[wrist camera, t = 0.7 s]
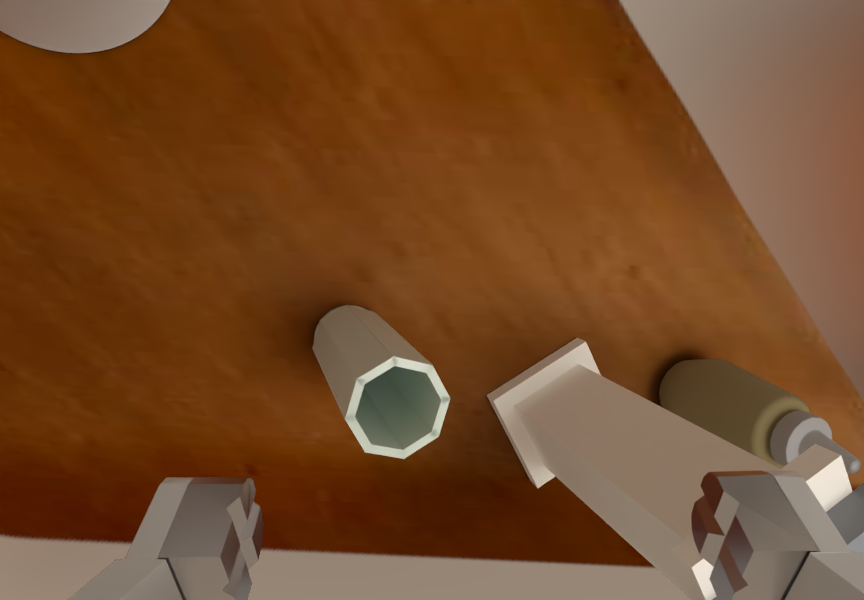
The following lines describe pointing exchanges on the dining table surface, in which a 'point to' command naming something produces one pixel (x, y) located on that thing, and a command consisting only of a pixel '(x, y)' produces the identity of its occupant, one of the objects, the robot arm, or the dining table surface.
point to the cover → (849, 519)
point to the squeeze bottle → (747, 411)
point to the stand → (633, 458)
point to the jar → (379, 382)
